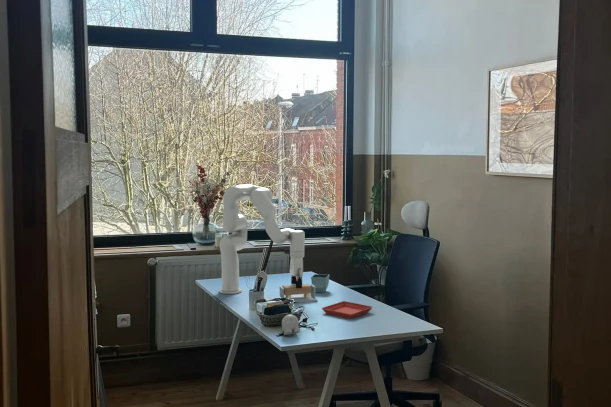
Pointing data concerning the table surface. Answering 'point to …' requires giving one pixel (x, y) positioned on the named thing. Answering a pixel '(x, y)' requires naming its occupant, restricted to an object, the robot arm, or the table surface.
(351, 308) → the plant saucer
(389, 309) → the table surface
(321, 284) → the flower pot
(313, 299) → the peg stand
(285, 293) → the plank
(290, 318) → the round bodied animal figurine
